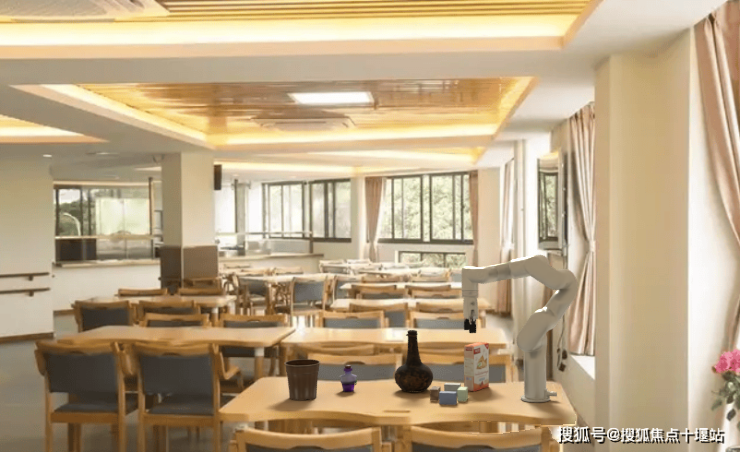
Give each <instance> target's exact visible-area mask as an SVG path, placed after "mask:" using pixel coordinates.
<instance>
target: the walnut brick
mask: <svg viewBox="0 0 740 452" xmlns="http://www.w3.org/2000/svg"><path fill="white" fill-rule="evenodd" d="M440 391H442V390H441V385H440V386H437V385H434V386H431V388H429V401H430V402H431V401H434V402H439V392H440Z"/></svg>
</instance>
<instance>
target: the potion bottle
mask: <svg viewBox="0 0 740 452" xmlns="http://www.w3.org/2000/svg"><path fill="white" fill-rule="evenodd" d="M343 372H344V374H341V375H339V379H340V380H339V381H340V384H341V386H342V392H344V393H352V392H354V391H355V386H356V385H357V383H358V380H357V377H358V375H356V374H353V373H352V372H353V367H352V365H351V364H344V367H343Z"/></svg>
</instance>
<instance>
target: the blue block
mask: <svg viewBox="0 0 740 452" xmlns="http://www.w3.org/2000/svg"><path fill="white" fill-rule="evenodd" d="M438 404H439V405H449V406H450V405H451V406H453V405H454V406H456V405H457V404H458V396H457V392H452V391H444V390H441V391H440V392H439V400H438Z"/></svg>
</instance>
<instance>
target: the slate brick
mask: <svg viewBox="0 0 740 452" xmlns="http://www.w3.org/2000/svg"><path fill="white" fill-rule="evenodd" d="M461 383H462V382H445V383H444V384H443V391H452V392H457V390H458V388H459V387H462V385H461ZM457 397H458V393H457Z"/></svg>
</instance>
